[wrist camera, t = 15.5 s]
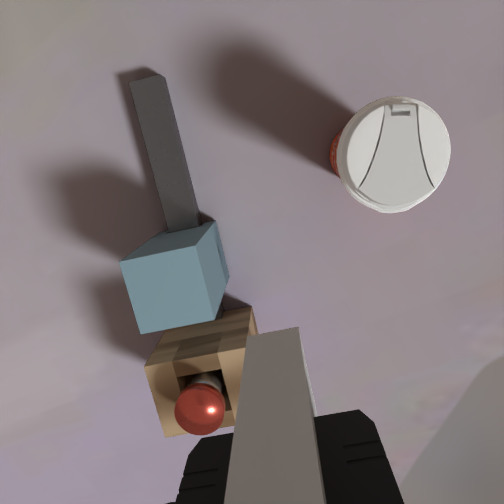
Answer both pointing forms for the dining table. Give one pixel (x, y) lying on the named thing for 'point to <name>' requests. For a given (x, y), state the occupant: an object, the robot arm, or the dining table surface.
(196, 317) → the block
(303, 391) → the robot arm
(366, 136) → the paper cup
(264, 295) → the dining table surface
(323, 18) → the dining table surface
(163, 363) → the housing
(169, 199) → the rail
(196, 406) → the plunger
